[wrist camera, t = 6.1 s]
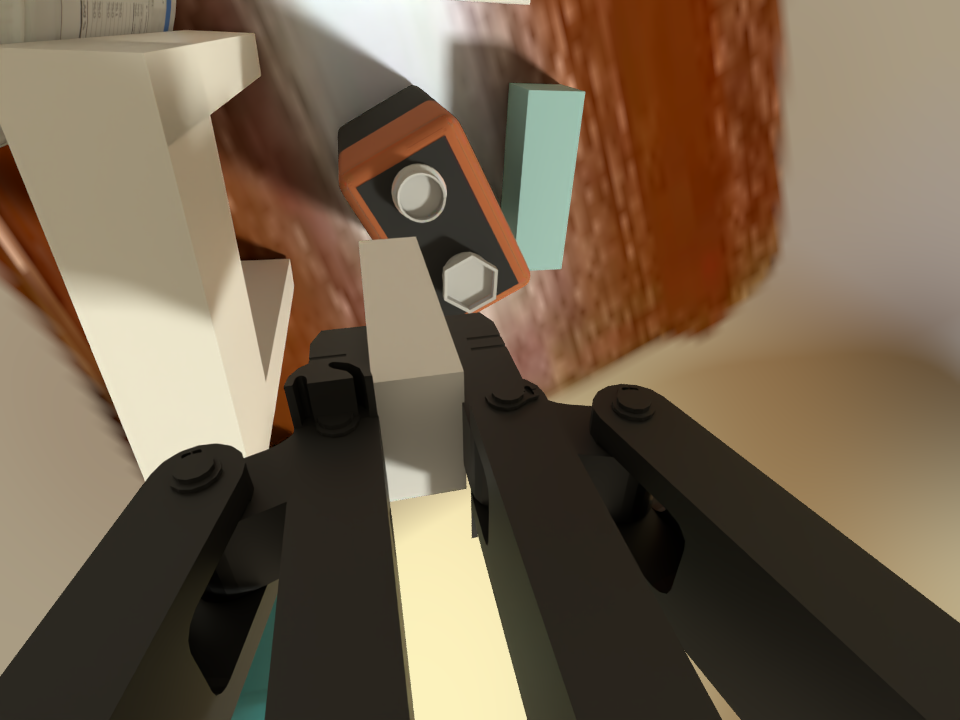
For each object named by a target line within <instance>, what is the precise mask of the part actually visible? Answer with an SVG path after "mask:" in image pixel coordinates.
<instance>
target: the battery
mask: <svg viewBox="0 0 960 720" xmlns="http://www.w3.org/2000/svg"><path fill="white" fill-rule="evenodd" d="M338 165H339V187H340V189H341V192H342V194H343V195H344V197H345V199H346V200H347V202H348V203H349V205H350V206H351V208H352V209H353V211H354V212H355V214H356V215H357V217H358V218H359V220H360V222H361V223H362V225H363V226H364V228H365V229H366V231H367V232H368V234H369V235H370V237H371V238H372V240H379V239H391V238H404V237H416V239H417V241H418V244H419V247H420V250H421V253H422V255H423V258H424V261H425V264H426V267H427V269H428V272H429V275H430V278H431V281H432V284H433V286H434V289H435V292H436V295H437V298H438V300H439V303H440V306H441V309H442V312H443V314H444V316H449V315H459V314H468V313H477V312H479V311H481V310H483V309H484V308H486V307H488V306H490V305H492V304H493V303H495V302H497V301H499V300H501V299H502V298H504V297H506V296H508V295H510V294H511V293H513V292H515V291H517V290H519V289H520V288H522V287H524V286H525V285H526V284H527V283H528V282H529V280H530V271H529V268H528V266H527V263H526V261H525V259H524V257H523V255H522V253H521V251H520V248H519V246H518V244H517V242H516V240H515V238H514V236H513V234H512V232H511V229H510V227H509V225H508V223H507V221H506V219H505V217H504V215H503V213H502V210H501V208H500V206H499V204H498V202H497V200H496V198H495V196H494V194H493V192H492V189H491V187H490V185H489V183H488V181H487V179H486V177H485V175H484V173H483V170H482V168H481V166H480V164H479V162H478V160H477V158H476V156H475V154H474V151H473V149H472V147H471V145H470V143H469V141H468V139H467V137H466V135H465V133H464V131H463V129H462V127H461V125H460V123H459V122H458V120H457V119H456V118H455V117H454V116H453V115H452V114H451V113H449V112H448V111H447V110H446V109H445V108H443V107H442V106H441V105H440V104H439V103H437V102H436V101H435V100H434V99H433V98H431V97H430V96H429V95H428V94H427V93H425V92H424V91H423V90H422V89H421V88H419V87H417V86H414V85H411V86H409V87H407V88H405V89H403V90H402V91H400V92H398V93H397V94H395V95H393V96H392V97H390V98H388V99H387V100H385V101H383V102H382V103H380V104H378V105H377V106H375V107H373V108H372V109H370V110H368V111H367V112H365V113H363V114H362V115H360V116H358V117H357V118H355V119H353V120H352V121H350V122H348V123H347V124H345V125H343V126H342V127H341V128H340V129H339V132H338Z"/></svg>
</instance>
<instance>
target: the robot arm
mask: <svg viewBox="0 0 960 720" xmlns="http://www.w3.org/2000/svg"><path fill="white" fill-rule="evenodd" d="M359 251H360V262H361V273H362V284H363V295H364V306H365V317H366V326H362V327H353V328H344V329H334V330H325V331H321V332H320V333H319V334H318V335H317V337H316V338H315V339H314V340H313V341H312V343H311V344H310V354H309V360H310V361H309V364H307V365H305V366H303V367H300V368H298V369H297V370H296V371H295V372H294V373H292V374H291V375H290V376H289V377H288V379H287V381H286V383H285V385H284V390H285V393H286V397H287V401H288V405H289V409H290V413H291V417H292V421H293V425H294V433H293V434H292V435H291V436H290V437H289V438H288V439H286V440H285V441H283V442H281V443H280V444H278V445H276V446H274V447H272V448H269V449H267V450H265V451H262V452H259V453H256V454H254V455H251V456H248V457H245V458H244V457H243V455H242V452H240V451H239V450H237V449H236V448H234V447H233V446H230V445H224V444H218V443H214V444H206V445H198V446H195V447H192V448H189V449H186V450H184V451H181V452H179V453H177V454H175V455H174V456H172V457H170V458H169V459H167V460H165V461H164V462H163V463H162V464H160V465H159V466H158V467H157V468H156V469H155V470H154V471H153V472H152V473H151V474H150V476H149V477H148V479H147V480H146V481H145V483H144V484H143V485H142V487H141V488H140V489H139V491H138V492H137V493H136V495H135V496H134V497H133V499H132V500H131V501H130V503H129V504H128V505H127V507H126V508H125V509H124V511H123V512H122V513H121V515H120V516H119V518H118V519H117V520H116V522H115V523H114V524H113V526H112V527H111V528H110V530H109V531H108V533H107V534H106V535H105V536H104V538H103V539H102V540H101V542H100V543H99V544H98V546H97V547H96V548H95V550H94V551H93V552H92V554H91V556H90V557H89V558H88V559H87V561H86V562H85V563H84V565H83V566H82V567H81V569H80V570H79V571H78V573H77V574H76V576H75V577H74V578H73V579H72V581H71V582H70V583H69V585H68V586H67V587H66V589H65V590H64V591H63V593H62V594H61V596H60V597H59V598H58V600H57V601H56V602H55V604H54V605H53V606H52V608H51V609H50V610H49V612H48V613H47V614H46V616H45V617H44V619H43V620H42V621H41V622H40V624H39V625H38V626H37V628H36V629H35V631H34V632H33V633H32V635H31V636H30V637H29V639H28V640H27V641H26V643H25V644H24V645H23V647H22V648H21V649H20V651H19V652H18V654H17V655H16V656H15V657H14V659H13V660H12V661H11V663H10V664H9V666H8V667H7V668H6V670H5V671H4V672H3V674H2V675H1V676H0V720H231V718H232V716H233V713H234V710H235V707H236V705H237V702H238V699H239V697H240V694H241V691H242V688H243V686H244V683H245V680H246V678H247V675H248V672H249V669H250V667H251V664H252V661H253V659H254V656H255V653H256V650H257V648H258V645H259V642H260V640H261V637H262V634H263V631H264V629H265V626H266V623H267V621H268V618H269V615H270V612H271V610H272V607H273V604H274V602H275V599H276V596H277V602H276V612H275V622H274V632H273V641H272V651H271V661H270V671H269V680H268V690H267V700H266V710H265V720H415V719H414V711H413V701H412V693H411V684H410V675H409V666H408V656H407V648H406V639H405V630H404V621H403V613H402V603H401V594H400V585H399V576H398V567H397V558H396V550H395V540H394V531H393V523H392V515H391V508H390V502H391V501H397V500H403V499H409V498H415V497H420V496H427V495H432V494H438V493H444V492H450V491H456V490H461V489H466V474H467V477H468V481H469V484H470V488H471V511H472V538H475V537H479V541H480V544H481V548H482V552H483V556H484V559H485V563H486V567H487V570H488V574H489V578H490V582H491V585H492V589H493V593H494V596H495V600H496V604H497V608H498V611H499V615H500V619H501V623H502V627H503V630H504V634H505V638H506V642H507V645H508V649H509V653H510V657H511V660H512V664H513V668H514V671H515V675H516V679H517V683H518V686H519V690H520V694H521V698H522V701H523V705H524V709H525V712H526V716H527V720H722V719H721V717H720V715H719V713H718V711H717V710H716V708H715V706H714V704H713V702H712V700H711V698H710V697H709V695H708V693H707V691H706V689H705V688H704V686H703V684H702V682H701V680H700V678H699V676H698V675H697V673H696V671H695V669H694V667H693V665H692V663H691V662H690V660H689V658H688V656H687V654H688V655H689V656H690V658H691V659H692V660H693V661H694V663H695V664H696V665H697V666H698V668H699V669H700V670H701V671H702V672H703V674H704V675H705V676H706V677H707V679H708V680H709V681H710V682H711V684H713V686H714V687H715V688H716V690H717V691H718V692H719V693H720V695H721V696H722V697H723V698H724V699H725V700H726V702H727V703H728V704H729V706H730V707H731V708H732V709H733V710H734V712H735V713H736V714H737V715H738V717H739V718H740V719H741V720H960V623H959V622H958V621H956V620H955V619H954V618H952V617H951V616H950V615H949V614H947V613H946V612H944V611H943V610H942V609H941V608H939V607H938V606H937V605H935V604H934V603H933V602H931V601H930V600H929V599H928V598H926V597H925V596H924V595H922V594H921V593H920V592H918V591H917V590H916V589H914V588H913V587H912V586H911V585H909V584H908V583H907V582H905V581H904V580H903V579H901V578H900V577H899V576H897V575H896V574H895V573H893V572H892V571H891V570H889V569H888V568H887V567H886V566H884V565H883V564H881V563H880V562H879V561H878V560H877V559H875V558H874V557H873V556H871V555H870V554H868V553H867V552H866V551H865V550H863V549H862V548H861V547H860V546H858V545H857V544H856V543H854V542H853V541H852V540H850V539H849V538H848V537H846V536H845V535H844V534H842V533H841V532H840V531H839V530H837V529H836V528H835V527H833V526H832V525H831V524H829V523H828V522H827V521H825V520H824V519H823V518H821V517H820V516H819V515H818V514H816V513H815V512H814V511H812V510H811V509H810V508H808V507H807V506H806V505H804V504H803V503H802V502H801V501H799V500H798V499H797V498H795V497H794V496H793V495H791V494H790V493H789V492H788V491H786V490H785V489H784V488H782V487H781V486H780V485H778V484H777V483H776V482H774V481H773V480H772V479H770V478H769V477H767V475H765V474H764V473H762V472H761V471H760V470H759V469H757V468H756V467H755V466H753V465H752V464H751V463H749V462H748V461H747V460H745V459H744V458H743V457H742V456H740V455H739V454H738V453H736V452H735V451H734V450H733V449H731V448H730V447H729V446H727V445H726V444H725V443H723V442H722V441H721V440H719V439H718V438H717V437H716V436H714V435H713V434H712V433H710V432H709V431H707V430H706V429H705V428H704V427H702V426H701V425H700V424H698V423H697V422H696V421H695V420H693V419H692V418H691V417H689V416H688V415H687V414H685V413H684V412H683V411H682V410H680V409H679V408H678V407H676V406H675V405H674V404H672V403H671V402H669V401H668V400H667V399H666V398H665V397H663V396H661V395H660V394H658V393H656V392H654V391H653V390H651V389H648V388H644V387H641V386H637V385H628V384H619V385H613V386H608V387H606V388H604V389H602V390H600V391H598V392H597V394H596V395H595V397H594V399H593V403H592V406H582V405H569V404H562V403H556V402H552V401H549V400H548V399H547V397H546V396H545V394H544V392H543V391H542V390H541V389H540V388H539V387H538V386H537V385H535V384H533V383H531V382H529V381H527V380H525V379H522V377H521V375H520V373H519V371H518V369H517V367H516V365H515V363H514V361H513V359H512V357H511V355H510V353H509V351H508V349H507V347H505V343H504V341H503V340H502V338H501V337H500V334H499V332H498V330H497V328H496V326H495V324H494V322H493V321H491V320H490V319H488V318H487V317H485V316H484V315H483V314H481V313H480V312H477V313H468V314H459V315H449V316H444V314H443V312H442V309H441V306H440V303H439V300H438V298H437V295H436V292H435V289H434V286H433V284H432V281H431V278H430V275H429V272H428V269H427V267H426V264H425V261H424V258H423V255H422V253H421V250H420V247H419V244H418V241H417V239H416V237H404V238H391V239H379V240H366V241H359ZM684 650H685V651H684ZM685 652H686V653H687V654H686V653H685Z"/></svg>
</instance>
